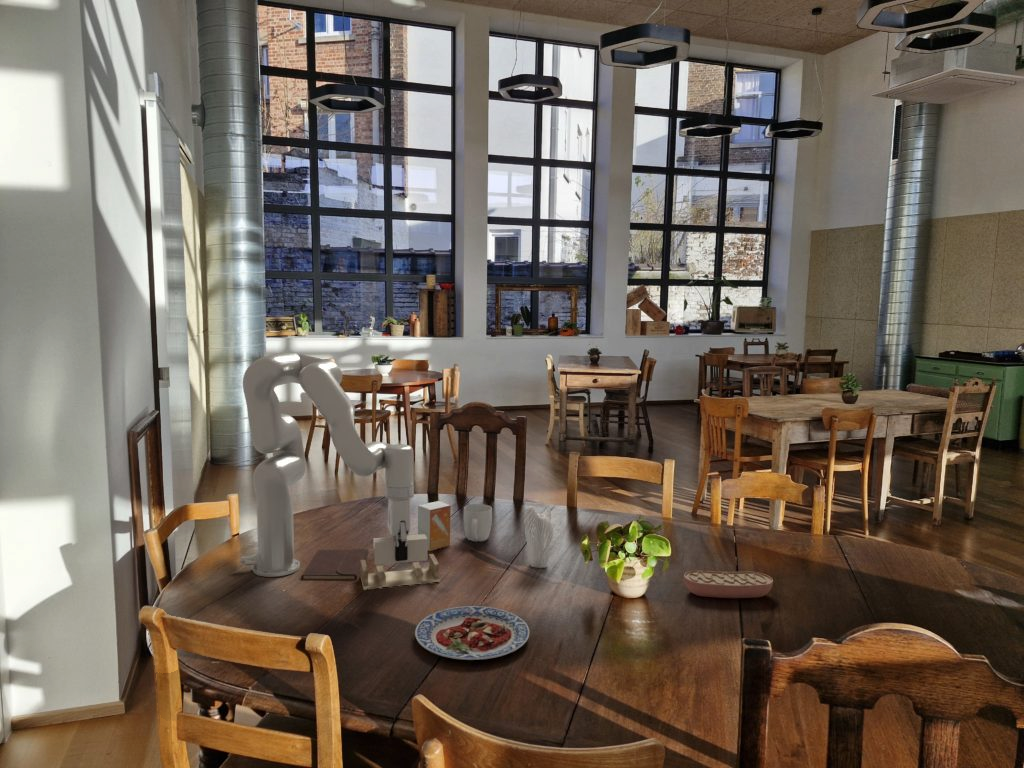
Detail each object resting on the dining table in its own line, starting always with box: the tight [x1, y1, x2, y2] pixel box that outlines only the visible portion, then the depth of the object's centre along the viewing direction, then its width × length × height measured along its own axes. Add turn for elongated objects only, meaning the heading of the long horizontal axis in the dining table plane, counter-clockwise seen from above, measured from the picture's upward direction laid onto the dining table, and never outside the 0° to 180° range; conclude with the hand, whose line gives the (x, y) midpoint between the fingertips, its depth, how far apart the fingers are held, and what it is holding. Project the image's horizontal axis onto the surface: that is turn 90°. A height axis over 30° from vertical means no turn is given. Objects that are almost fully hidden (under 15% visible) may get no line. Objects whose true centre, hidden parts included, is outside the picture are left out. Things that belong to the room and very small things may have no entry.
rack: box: [359, 553, 440, 591], centre depth 201 cm, size 20×9×5 cm, turn 107°
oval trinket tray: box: [683, 569, 774, 599], centre depth 195 cm, size 23×10×5 cm, turn 90°
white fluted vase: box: [523, 505, 554, 569], centre depth 213 cm, size 8×8×18 cm
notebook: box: [300, 548, 370, 580], centre depth 211 cm, size 15×20×2 cm
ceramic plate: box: [414, 605, 530, 661], centre depth 168 cm, size 26×26×3 cm
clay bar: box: [372, 534, 429, 566], centre depth 200 cm, size 14×4×6 cm, turn 107°
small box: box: [417, 500, 452, 552], centre depth 227 cm, size 8×6×13 cm
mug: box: [463, 503, 493, 543], centre depth 233 cm, size 13×9×10 cm
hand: (400, 556), depth 200 cm, fingers closed on clay bar, 4 cm apart
